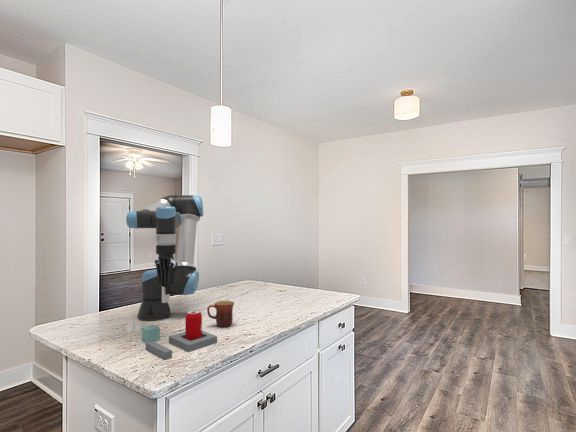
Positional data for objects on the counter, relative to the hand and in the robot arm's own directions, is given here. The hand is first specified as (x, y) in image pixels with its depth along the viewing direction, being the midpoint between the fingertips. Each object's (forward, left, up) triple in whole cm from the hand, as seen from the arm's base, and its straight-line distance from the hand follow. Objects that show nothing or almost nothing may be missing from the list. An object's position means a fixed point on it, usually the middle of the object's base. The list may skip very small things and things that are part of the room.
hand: (165, 301), depth 138 cm
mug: (+4, +25, -15) cm, 29 cm away
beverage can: (+13, +5, -15) cm, 20 cm away
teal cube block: (-2, -5, -15) cm, 16 cm away
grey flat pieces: (+13, 0, -15) cm, 20 cm away
